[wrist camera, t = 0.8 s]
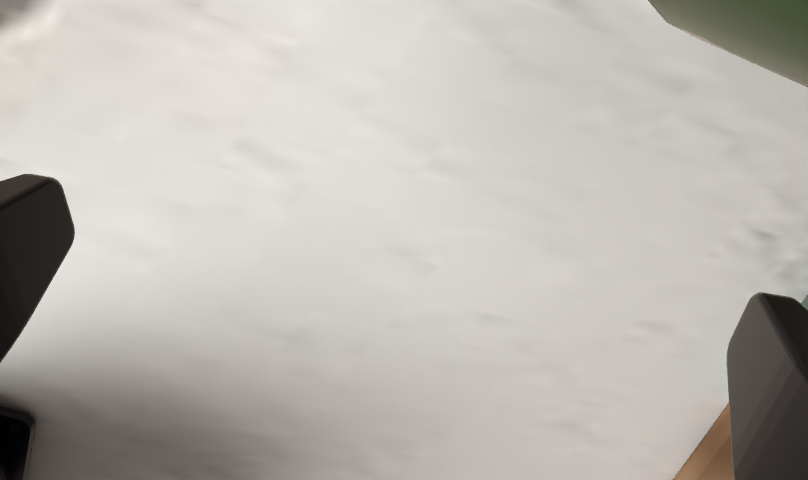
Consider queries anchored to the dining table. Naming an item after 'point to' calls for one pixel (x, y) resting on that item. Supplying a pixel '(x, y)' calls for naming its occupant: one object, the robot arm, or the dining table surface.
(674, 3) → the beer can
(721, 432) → the board
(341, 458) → the dining table surface
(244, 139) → the dining table surface
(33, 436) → the robot arm
